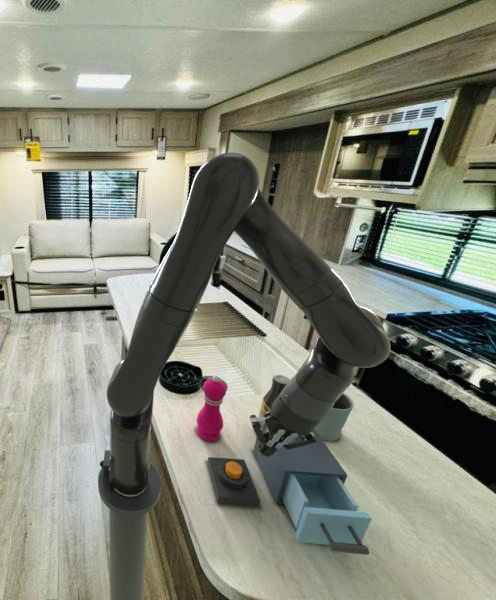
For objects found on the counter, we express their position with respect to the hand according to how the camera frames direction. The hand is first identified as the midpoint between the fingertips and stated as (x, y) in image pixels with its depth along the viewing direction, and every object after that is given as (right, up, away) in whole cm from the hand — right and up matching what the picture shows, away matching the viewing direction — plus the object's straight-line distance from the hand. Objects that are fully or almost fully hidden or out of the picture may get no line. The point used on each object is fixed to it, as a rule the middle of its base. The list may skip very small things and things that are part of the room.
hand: (263, 452), depth 68 cm
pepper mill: (-4, -6, +24) cm, 25 cm away
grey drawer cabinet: (+12, -11, +10) cm, 19 cm away
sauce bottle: (+13, -6, +23) cm, 27 cm away
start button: (-3, -9, +7) cm, 12 cm away
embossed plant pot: (+30, -5, +24) cm, 38 cm away
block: (-3, -12, +9) cm, 15 cm away
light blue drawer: (+11, -15, -1) cm, 18 cm away
